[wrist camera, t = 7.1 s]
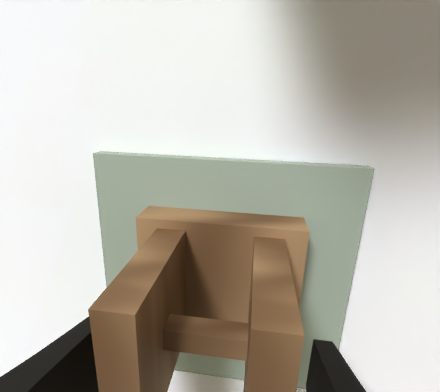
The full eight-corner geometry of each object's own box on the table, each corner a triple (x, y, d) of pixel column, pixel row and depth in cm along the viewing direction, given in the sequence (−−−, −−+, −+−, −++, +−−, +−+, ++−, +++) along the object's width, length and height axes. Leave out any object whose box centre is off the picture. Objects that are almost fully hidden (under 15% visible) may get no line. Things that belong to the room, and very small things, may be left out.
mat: (368, 166, 12) (374, 169, 11) (327, 381, 16) (329, 392, 15) (100, 151, 13) (93, 153, 13) (119, 353, 17) (114, 361, 16)
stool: (303, 217, 12) (348, 326, 6) (289, 329, 14) (313, 500, 8) (148, 205, 13) (52, 291, 7) (153, 313, 15) (80, 457, 9)
